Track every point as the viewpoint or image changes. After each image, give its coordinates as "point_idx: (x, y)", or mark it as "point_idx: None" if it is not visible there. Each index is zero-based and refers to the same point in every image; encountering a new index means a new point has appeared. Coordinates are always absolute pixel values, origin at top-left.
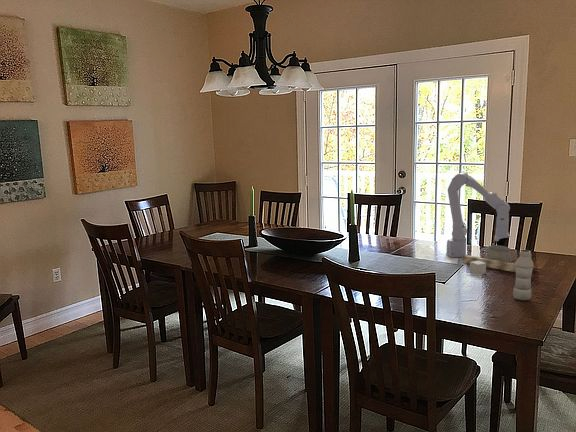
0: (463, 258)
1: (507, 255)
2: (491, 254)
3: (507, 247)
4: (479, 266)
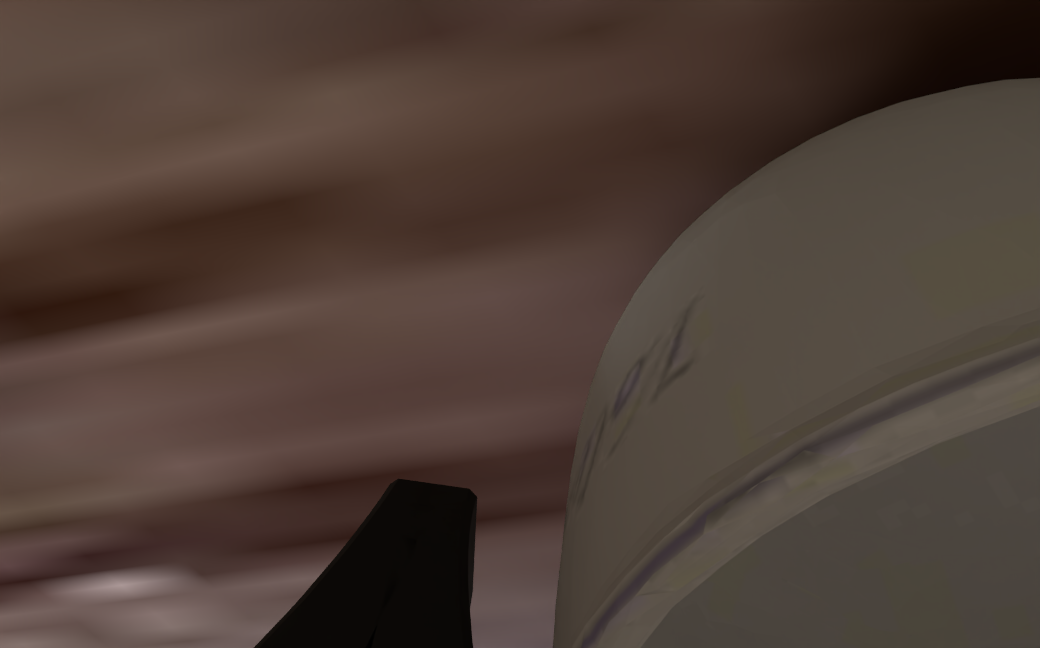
0: None
1: None
2: None
3: (698, 582)
4: None
